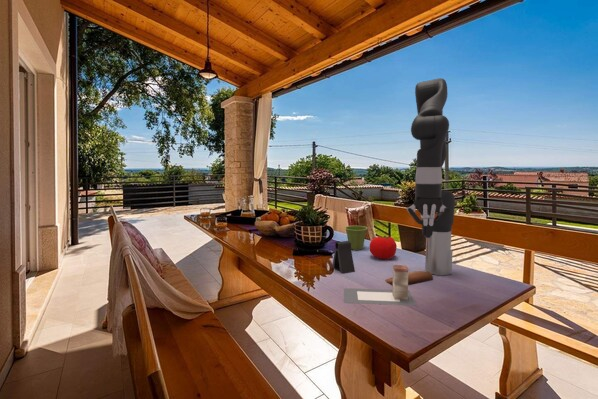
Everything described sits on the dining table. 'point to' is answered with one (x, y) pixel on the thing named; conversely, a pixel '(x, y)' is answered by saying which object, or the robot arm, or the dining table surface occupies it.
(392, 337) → the dining table surface
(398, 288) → the ash block
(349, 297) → the rubber mat
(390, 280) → the sunglasses case
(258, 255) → the dining table surface
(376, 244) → the tomato
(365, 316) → the dining table surface
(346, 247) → the phone stand
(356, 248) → the plant pot
